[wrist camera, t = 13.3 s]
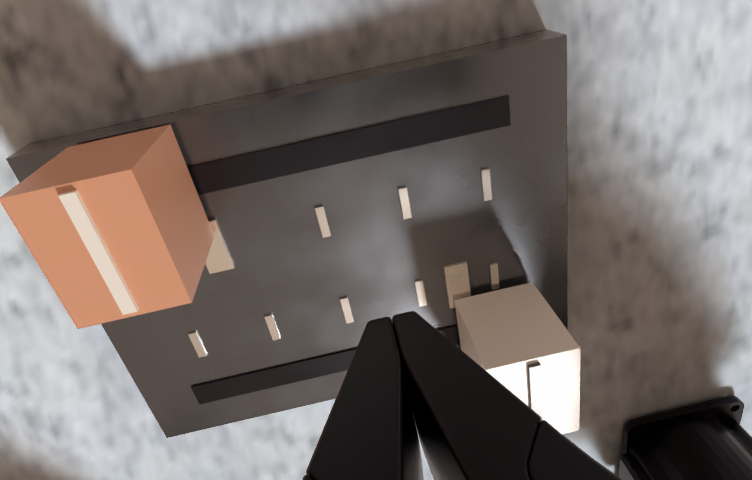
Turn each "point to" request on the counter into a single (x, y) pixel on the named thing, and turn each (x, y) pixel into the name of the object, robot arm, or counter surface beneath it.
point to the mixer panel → (350, 221)
